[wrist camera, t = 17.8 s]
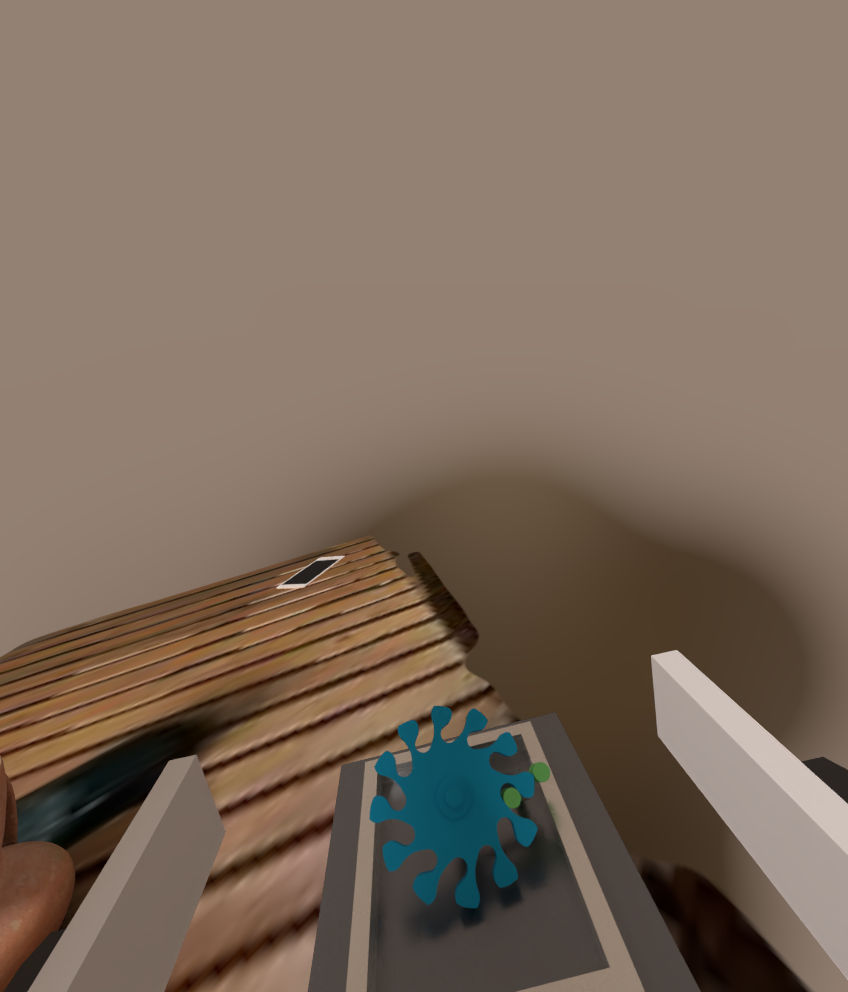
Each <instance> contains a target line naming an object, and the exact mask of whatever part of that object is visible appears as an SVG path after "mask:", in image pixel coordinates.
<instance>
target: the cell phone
mask: <svg viewBox="0 0 848 992" xmlns="http://www.w3.org/2000/svg"><path fill="white" fill-rule="evenodd" d="M343 558H345V556H335V557H321V558H318V559H317V560H316V561H314V562H313V563H311V564H310V565H308V566H307V567H305V568H304V569H302V570H301V571H300V572H298V573H297V574H295V575H294V576H292V577H291V578H289V579H288V580H287V581H285V582H284V583H282V584H281V585H279V586H278V587H277V589H290V588H305V587H306V586H308V585H309V584H310V583H312V582H313V581H314V580H315V579H317V578H318V577H319V576H321V575H322V574H323V573H325V572H326V571H327V570H329V569H330V568H331V567H333V566H334V565H335V564H337V563H338V562H339V561H341V560H342V559H343Z"/></svg>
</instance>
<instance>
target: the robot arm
mask: <svg viewBox="0 0 848 992" xmlns="http://www.w3.org/2000/svg"><path fill="white" fill-rule="evenodd" d="M651 662H652V674H653V685H654V697H655V708H656V719H657V732H658V736H659V738H660V739H661V740H662V742H663V743H664V744H665V745H666V747H667V748H668V749H669V751H670V752H671V753H672V754H673V756H674V757H675V758H676V760H677V761H678V762H679V763H680V765H681V766H682V767H683V769H684V770H685V771H686V773H687V774H688V775H689V776H690V778H691V779H692V780H693V782H694V783H695V784H696V785H697V787H698V788H699V789H700V791H701V792H702V793H703V794H704V796H705V797H706V798H707V800H708V801H709V802H710V804H711V805H712V806H713V807H714V809H715V810H716V811H717V812H718V814H719V815H720V816H721V818H722V819H723V820H724V821H725V823H726V824H727V825H728V827H729V828H730V829H731V830H732V832H733V833H734V834H735V836H736V837H737V838H738V840H739V841H740V842H741V843H742V845H743V846H744V847H745V849H746V850H747V851H748V852H749V854H750V855H751V856H752V858H753V859H754V860H755V861H756V863H757V864H758V865H759V867H760V868H761V869H762V871H763V872H764V873H765V874H766V876H767V877H768V878H769V879H770V881H771V882H772V883H773V885H774V886H775V887H776V889H777V890H778V891H779V892H780V894H781V895H782V896H783V898H784V899H785V900H786V901H787V903H788V904H789V905H790V906H791V908H792V909H793V910H794V912H795V913H796V914H797V916H798V917H799V918H800V920H801V921H802V922H803V923H804V925H805V926H806V927H807V929H808V930H809V931H810V932H811V934H812V935H813V936H814V938H815V939H816V940H817V941H818V943H819V944H820V945H821V947H822V948H823V949H824V950H825V952H826V953H827V954H828V956H829V957H830V958H831V959H832V961H833V962H834V963H835V965H836V966H837V967H838V968H839V970H840V971H841V972H842V974H843V975H844V976H845V978H846V979H847V980H848V770H847V769H845V768H843V767H841V766H839V765H837V764H835V763H834V762H832V761H830V760H828V759H826V758H824V757H820V758H816V759H811V760H807V761H802V762H801V761H800V760H798V759H797V758H796V757H795V756H794V755H793V754H792V753H791V752H790V751H788V750H787V749H786V748H785V747H784V746H783V745H782V744H780V743H779V742H778V741H777V740H776V739H775V738H774V737H773V736H772V735H771V734H770V733H768V732H767V731H766V730H765V729H764V728H763V727H762V726H761V725H760V724H758V723H757V722H756V721H755V720H754V719H753V718H751V716H750V715H748V714H747V713H746V712H745V711H744V710H743V709H742V708H741V707H739V706H738V705H737V704H736V703H735V702H734V701H733V700H732V699H731V698H730V697H728V696H727V695H726V694H725V693H724V692H723V691H722V690H721V689H720V688H718V687H717V686H716V685H715V684H714V683H713V682H712V681H711V680H710V679H708V678H707V677H706V676H705V675H704V674H702V672H701V671H700V670H698V669H697V668H696V667H695V666H694V665H693V664H692V663H691V662H690V661H688V660H687V659H686V658H685V657H684V656H683V655H682V654H681V653H680V652H678V651H677V650H675V651H670V652H666V653H661V654H657V655H652V656H651ZM225 832H226V831H225V829H224V826H223V823H222V821H221V818H220V815H219V813H218V810H217V808H216V805H215V802H214V800H213V797H212V794H211V792H210V789H209V787H208V784H207V781H206V779H205V776H204V774H203V771H202V768H201V766H200V763H199V760H198V758H197V755H193V756H189V757H184V758H179V759H175V760H170V761H169V762H168V764H167V765H166V767H165V768H164V770H163V772H162V773H161V775H160V777H159V778H158V780H157V781H156V783H155V785H154V786H153V788H152V790H151V791H150V793H149V795H148V796H147V798H146V799H145V801H144V803H143V804H142V806H141V808H140V809H139V811H138V812H137V814H136V816H135V817H134V819H133V821H132V822H131V824H130V826H129V827H128V829H127V830H126V832H125V834H124V835H123V837H122V839H121V840H120V842H119V843H118V845H117V847H116V848H115V850H114V852H113V853H112V855H111V857H110V858H109V860H108V861H107V863H106V865H105V866H104V868H103V870H102V871H101V873H100V874H99V876H98V878H97V879H96V881H95V883H94V884H93V886H92V887H91V889H90V891H89V892H88V894H87V896H86V897H85V899H84V901H83V902H82V904H81V905H80V907H79V909H78V910H77V912H76V914H75V915H74V917H73V918H72V920H71V922H70V923H69V925H68V927H67V928H66V929H62V930H58V931H54V932H51V933H50V934H49V935H48V936H47V937H46V938H45V939H44V940H43V941H42V942H41V944H40V945H39V946H38V947H37V948H36V949H35V950H34V951H33V952H32V954H31V955H30V956H29V957H28V958H27V959H26V960H25V961H24V962H23V963H22V965H21V966H20V967H19V969H18V970H17V972H16V973H15V975H14V976H13V978H12V980H11V981H10V983H9V984H8V986H7V987H6V989H5V990H4V992H164V991H165V988H166V985H167V983H168V980H169V978H170V975H171V972H172V970H173V967H174V965H175V962H176V959H177V957H178V954H179V952H180V949H181V946H182V944H183V941H184V939H185V936H186V933H187V931H188V928H189V926H190V923H191V920H192V918H193V915H194V913H195V910H196V907H197V905H198V902H199V900H200V897H201V894H202V892H203V889H204V887H205V884H206V881H207V879H208V876H209V874H210V871H211V868H212V866H213V863H214V861H215V858H216V855H217V853H218V850H219V848H220V845H221V842H222V840H223V837H224V835H225Z"/></svg>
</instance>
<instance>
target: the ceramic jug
mask: <svg viewBox="0 0 848 992" xmlns="http://www.w3.org/2000/svg"><path fill="white" fill-rule="evenodd" d="M17 826H18V821H17V811H16V802H15V795H14V791H13V787H12V784H11V782H10V780H9V778H8V776H7V775H6V774H5V769H4V764H3V760H2V758H1V756H0V992H4V990H5V989H6V987H7V986H8V984H9V983H10V981H11V980H12V978H13V976H14V975H15V973H16V972H17V970H18V969H19V967H20V966H21V965H22V963H23V962H24V961H25V960H26V959H27V958H28V957H29V956H30V955H31V954H32V952H33V951H34V950H35V949H36V948H37V947H38V946H39V945H40V944H41V942H42V941H43V940H44V939H45V938H46V937H47V936H48V935H49V934H50V933H51V932H54V931H58V930H59V928H60V926H61V924H62V922H63V920H64V918H65V916H66V913H67V911H68V908H69V905H70V902H71V899H72V896H73V892H74V886H75V867H74V863H73V860H72V858H71V856H70V854H69V853H68V852H67V851H66V850H65V849H63V848H62V847H60V846H58V845H56V844H53V843H49V842H41V841H31V842H23V843H19V844H17Z"/></svg>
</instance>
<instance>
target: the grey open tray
mask: <svg viewBox="0 0 848 992" xmlns="http://www.w3.org/2000/svg"><path fill="white" fill-rule="evenodd" d="M504 732H510V734H511V735H512V737H513V739H514V741H515V743H516V746H517V752H516V753H515V754H514V755H512V756H509V757H506V756H503V755H501V754H498V753H492V754H491V755H490V757H489V764H490V766H491V768H492V769H494V770H495V771H497V772H500V773H504V772H510V771H516V770H524V771H527V772H529V768H530V766H531V765H532V764H534V763H537V762H543V763H545V764H546V765H547V766H548V767H549V769H550V777H549V779H548V780H547V781H546V782H535V793H534V795H533V797H532V798H531V799H529V800H526V801H521V802H520V805H519V806H518V807H517V808H509V809H510V810H511V811H512V812H514V813H515V814H516V815H518V816H520V817H522V818H526V819H530V820H532V821H533V822H534V823H535V825H536V826H537V828H538V829H537V832H536V835H535V837H534V839H533V841H532V843H531V844H530V845H529V846H528V847H525V846H523V845H521V844H520V843H518V842H517V840H516V839H515V837H514V833H513V828H512V824H511V822H510V820H509V819H508V818H506V817H503V818H501V819H500V820H499V821H498V823H497V832H498V838H499V842H500V845H501V848H502V850H503V852H504V854H505V855H506V857H507V858H508V859H509V860H510V861H511V862H512V863H513V864H514V866H515V867H516V870H517V873H518V879H517V880H516V881H514V882H513V883H512V884H510V885H508V886H506V887H502V888H500V887H499V886H498V885H497V884H496V883H495V881H494V879H493V876H492V867H493V863H494V859H495V853H494V850H493V848H492V847H491V846H489V845H485V846H483V847H482V848H481V849H480V851H479V854H478V858H477V862H476V868H475V877H476V884H477V888H478V891H479V894H480V902H479V905H478V907H477V908H465V907H462V906H460V905H458V904H457V903H456V899H455V888H456V885H457V883H458V882H459V881H460V880H461V879H462V878H463V877H464V875H465V874H466V871H467V864H466V861H465V860H464V859H463V858H460V857H457V858H454V859H453V860H452V861H451V862H450V863H449V864H448V865H447V867H446V868H445V869H444V871H443V872H442V874H441V876H440V879H439V882H438V886H437V894H436V897H435V899H434V901H433V902H432V903H431V904H430V905H427V904H426V903H425V902H423V901H422V900H421V899H420V898H419V897H418V896H417V894H416V893H415V891H414V889H413V882H414V879H415V878H416V876H417V875H418V874H419V873H421V872H425V871H430V870H432V869H434V867H435V866H436V864H437V855H436V854H435V852H434V851H433V850H430V849H426V850H420V851H417V852H414V853H413V854H411V855H409V856H408V857H407V858H406V859H405V860H404V861H403V863H402V864H401V866H400V867H399V868H398V869H397V870H395V871H392V872H391V871H388V869H387V867H386V864H385V861H384V858H383V849H382V847H383V846H384V845H385V843H387V842H388V841H391V840H395V841H398V842H399V843H401V844H403V845H409V844H411V843H412V842H413V840H414V838H415V832H414V829H413V827H412V826H411V825H409V824H407V823H405V822H403V821H401V820H397V819H388V820H384V821H382V822H380V823H374V822H372V821H371V820H370V819H369V818H370V807H371V803H372V800H373V798H374V797H375V796H383V797H385V798H386V799H387V800H388V802H389V804H390V805H391V807H392V808H393V809H394V810H397V811H399V810H402V809H403V808H404V806H405V804H406V796H405V794H404V792H403V791H402V789H401V788H400V786H399V785H398V784H397V783H396V782H395V781H394V780H393V779H391V778H389V777H386V776H382V775H380V774H378V773H377V772H376V770H375V767H374V766H375V764H376V763H377V761H378V759H379V758H380V756H377V757H373V758H368V759H364V760H360V761H356V762H352V763H348V764H344V765H342V766H341V773H340V779H339V786H338V793H337V800H336V806H335V813H334V820H333V826H332V833H331V840H330V847H329V853H328V860H327V867H326V873H325V880H324V887H323V894H322V900H321V907H320V914H319V920H318V927H317V934H316V941H315V947H314V954H313V961H312V967H311V974H310V981H309V987H308V992H701V991H700V989H699V987H698V985H697V984H696V982H695V980H694V978H693V976H692V974H691V972H690V970H689V968H688V966H687V964H686V962H685V960H684V959H683V957H682V955H681V953H680V951H679V949H678V947H677V945H676V943H675V941H674V939H673V937H672V935H671V933H670V932H669V930H668V928H667V926H666V924H665V922H664V920H663V918H662V916H661V914H660V912H659V910H658V908H657V907H656V905H655V903H654V901H653V899H652V897H651V895H650V893H649V891H648V889H647V887H646V885H645V883H644V881H643V880H642V878H641V876H640V874H639V872H638V870H637V868H636V866H635V864H634V862H633V860H632V858H631V856H630V855H629V853H628V851H627V849H626V847H625V845H624V843H623V841H622V839H621V837H620V835H619V833H618V831H617V829H616V828H615V826H614V824H613V822H612V820H611V818H610V816H609V814H608V812H607V810H606V808H605V806H604V804H603V803H602V801H601V799H600V797H599V795H598V793H597V791H596V789H595V787H594V785H593V784H592V782H591V779H590V777H589V776H588V774H587V772H586V770H585V768H584V766H583V764H582V762H581V760H580V758H579V756H578V754H577V752H576V750H575V749H574V747H573V745H572V743H571V741H570V739H569V737H568V735H567V733H566V731H565V729H564V728H563V726H562V724H561V722H560V720H559V718H558V716H557V714H556V712H554V713H550V714H546V715H542V716H539V717H534V718H530V719H526V720H522V721H518V722H514V723H510V724H506V725H502V726H498V727H494V728H490V729H486V730H482V731H478V732H474V733H470V734H469V735H468V738H467V741H468V745H469V746H470V747H471V748H472V749H482V748H486V747H489V746H491V745H492V744H493V743H494V742H495V741H496V740H497V738H498V737H499V736H500V735H501V734H503V733H504ZM458 737H459V736H457V737H453V738H449V739H445V740H443V741H444V742H446V743H451V742H453V741H454V740H456V739H457V738H458ZM431 744H432V743H429V744H425V745H421V746H417V747H416V749H417V750H418V751H419V752H421V753H425V752H427V751H428V750H429V749H430V747H431ZM392 754H393V756H394V757H395V760H396V769H397V773H398V774H399V775H400V776H401V777H407V776H409V775H410V773H411V772H412V769H413V765H412V757H411V753H410V750H409V749H405V750H401V751H397V752H393V753H392Z"/></svg>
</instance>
